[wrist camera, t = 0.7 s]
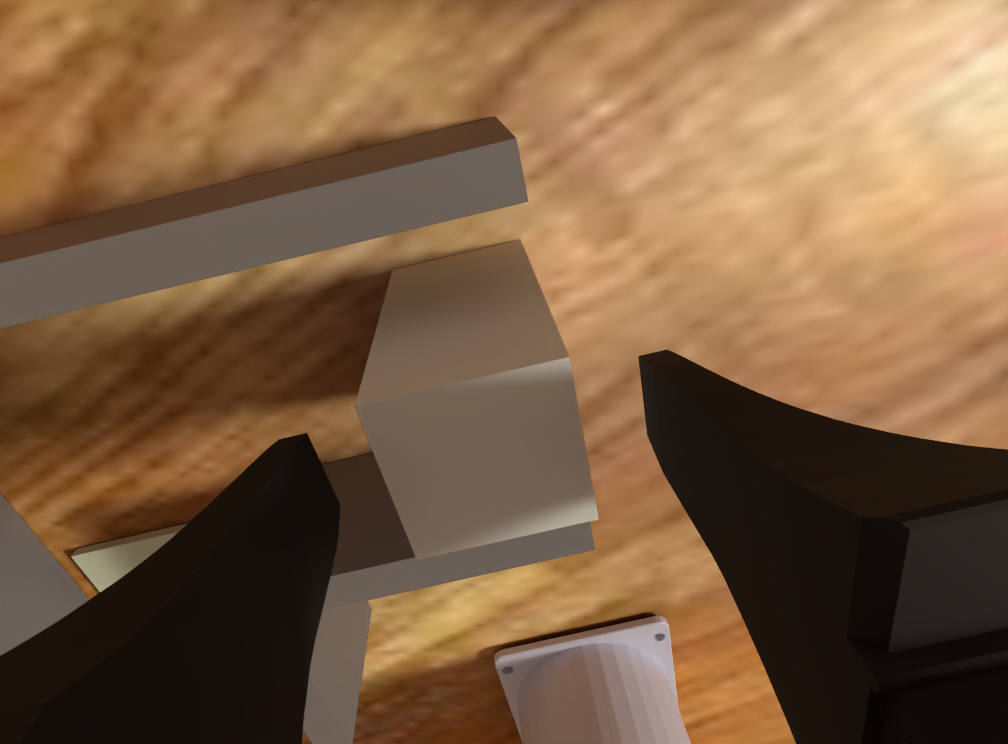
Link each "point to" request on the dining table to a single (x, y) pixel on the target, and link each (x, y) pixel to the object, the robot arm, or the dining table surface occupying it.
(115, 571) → the mat
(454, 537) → the block
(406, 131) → the dining table surface
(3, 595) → the rails
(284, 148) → the dining table surface
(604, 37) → the dining table surface
